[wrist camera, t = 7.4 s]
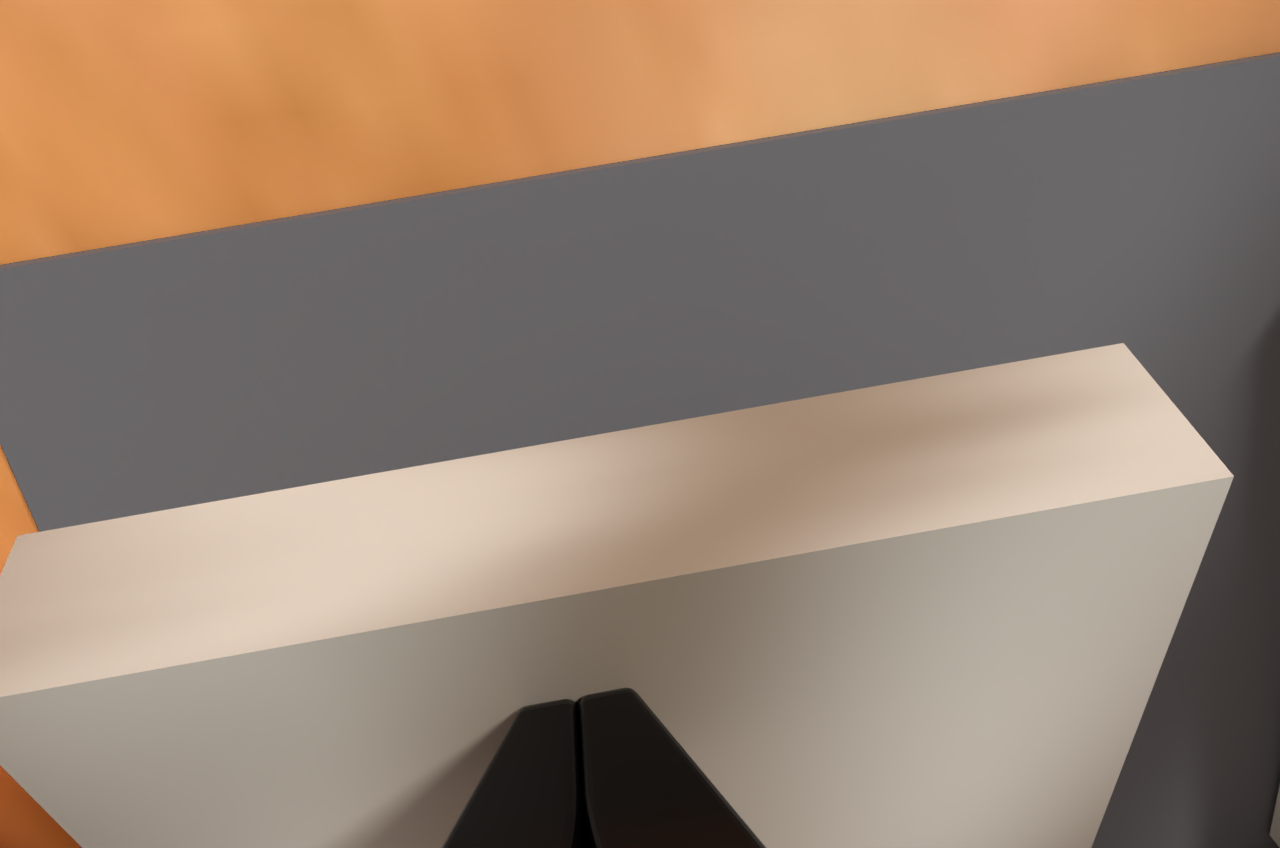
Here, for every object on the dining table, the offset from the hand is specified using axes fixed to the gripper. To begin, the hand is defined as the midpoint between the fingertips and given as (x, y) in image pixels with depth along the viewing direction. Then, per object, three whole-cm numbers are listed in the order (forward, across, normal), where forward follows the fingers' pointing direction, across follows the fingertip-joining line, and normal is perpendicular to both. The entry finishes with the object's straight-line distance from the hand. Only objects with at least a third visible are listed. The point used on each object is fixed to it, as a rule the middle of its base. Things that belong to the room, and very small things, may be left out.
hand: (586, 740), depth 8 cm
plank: (+2, 0, +2) cm, 3 cm away
